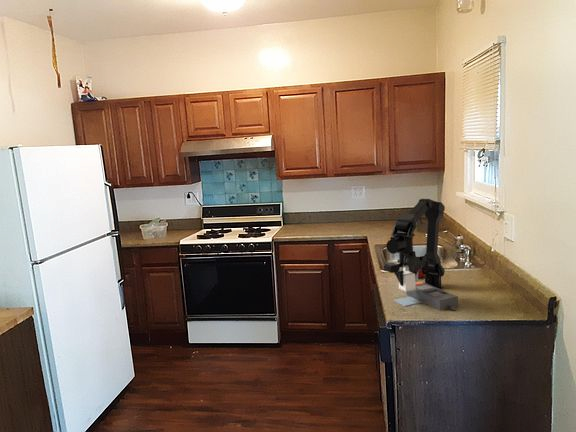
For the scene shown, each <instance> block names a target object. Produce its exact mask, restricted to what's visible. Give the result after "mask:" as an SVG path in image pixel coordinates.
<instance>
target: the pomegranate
mask: <svg viewBox="0 0 576 432" xmlns="http://www.w3.org/2000/svg"><path fill="white" fill-rule="evenodd" d="M424 277H426V274H422V270H421V269H420V270H419V271H418V279H421V278H424Z"/></svg>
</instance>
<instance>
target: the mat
mask: <svg viewBox="0 0 576 432" xmlns="http://www.w3.org/2000/svg"><path fill="white" fill-rule="evenodd" d="M393 301H394V302H396V303H398V304H400V305H401V306H402V307H403V306H404V307H408V306H413V305H418V304H421V303H422V302H421V301H419V300H417V299H415V298H413V297H410V296H405V297H401V298H395V299H393Z"/></svg>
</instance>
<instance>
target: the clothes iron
mask: <svg viewBox="0 0 576 432" xmlns="http://www.w3.org/2000/svg"><path fill="white" fill-rule="evenodd" d="M422 219H426V217H425V215H424V214H423V215H422V217H421V218H420V219H419V220H418V221H417V223H416V224H417V227H416V232H417V233H426V234H427V227H428V222H423V221H422Z"/></svg>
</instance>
